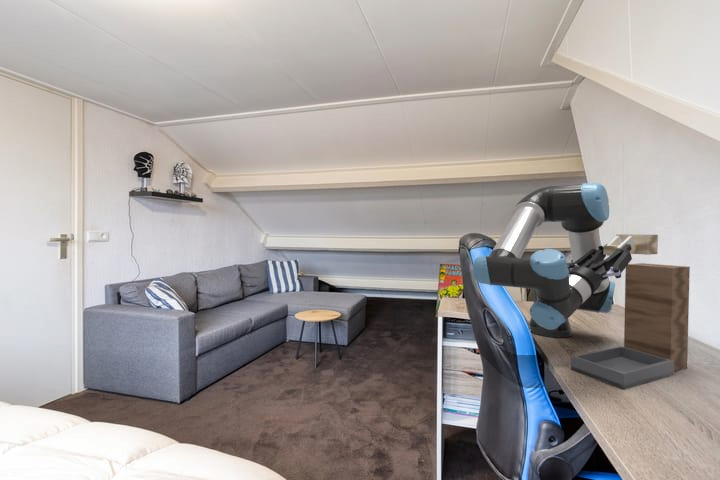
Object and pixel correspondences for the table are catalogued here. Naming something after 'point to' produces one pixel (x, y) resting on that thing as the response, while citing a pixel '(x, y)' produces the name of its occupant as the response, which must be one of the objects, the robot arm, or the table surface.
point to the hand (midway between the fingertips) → (625, 240)
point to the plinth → (657, 311)
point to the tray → (622, 366)
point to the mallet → (636, 244)
